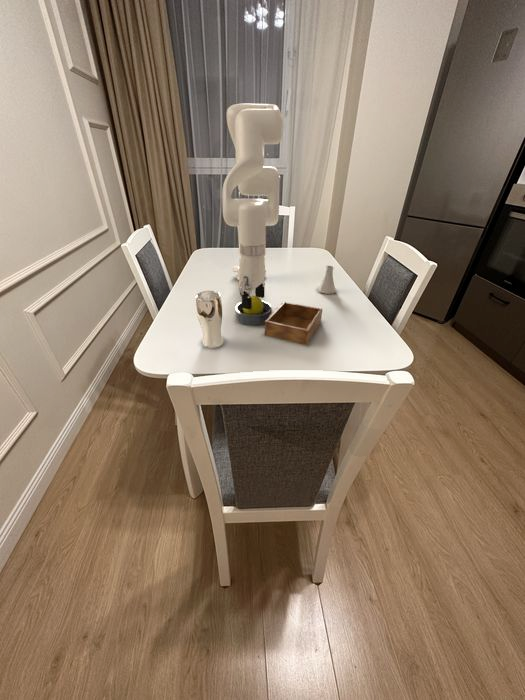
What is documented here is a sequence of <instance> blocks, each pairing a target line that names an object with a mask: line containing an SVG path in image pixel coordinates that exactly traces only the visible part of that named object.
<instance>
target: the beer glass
mask: <svg viewBox="0 0 525 700" xmlns="http://www.w3.org/2000/svg"><path fill="white" fill-rule="evenodd" d="M222 303H223V302H222V298H221V293H220V292H219V291H215V290H203V291H200V292H198V293H196V294H195V307H196V308H195V309H196V314H197V315H196V316H197V318H198V322H199V325H200V328H201V331H202V345H203V346H204V347H205V348H208V349H216V348H219V347H221V346H222V345H224V338H223V335H222V324H223V304H222Z"/></svg>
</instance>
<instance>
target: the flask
mask: <svg viewBox="0 0 525 700" xmlns="http://www.w3.org/2000/svg"><path fill="white" fill-rule="evenodd" d="M334 269H335V266H333V265H326V266H325V273H324V276H323V278H322V280H321V281H320V284H319V286H318V288H317V291H318V292H319V293H321V294H327V295H328V294H330V295H331V294H334V293H336V287H335V282H334V275H333V274H334V273H333V271H334Z"/></svg>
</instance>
